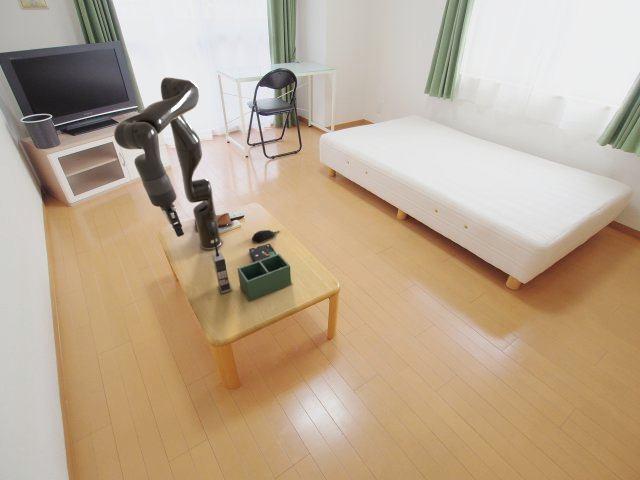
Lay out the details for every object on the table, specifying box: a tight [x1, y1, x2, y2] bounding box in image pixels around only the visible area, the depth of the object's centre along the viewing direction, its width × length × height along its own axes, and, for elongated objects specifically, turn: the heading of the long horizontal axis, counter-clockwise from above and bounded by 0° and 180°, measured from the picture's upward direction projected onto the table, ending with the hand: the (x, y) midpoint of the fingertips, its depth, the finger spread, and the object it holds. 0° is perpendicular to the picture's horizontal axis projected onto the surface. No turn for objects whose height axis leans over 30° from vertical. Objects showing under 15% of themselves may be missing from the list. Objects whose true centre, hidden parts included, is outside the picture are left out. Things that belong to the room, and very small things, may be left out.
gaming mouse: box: [251, 229, 279, 244], centre depth 166 cm, size 6×15×4 cm, turn 129°
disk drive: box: [248, 243, 277, 263], centre depth 152 cm, size 10×3×15 cm
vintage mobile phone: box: [211, 237, 232, 294], centre depth 130 cm, size 4×5×25 cm
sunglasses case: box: [194, 212, 233, 233], centre depth 175 cm, size 18×7×7 cm, turn 115°
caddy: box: [237, 253, 292, 302], centre depth 136 cm, size 10×18×10 cm, turn 123°
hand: (177, 229), depth 113 cm, fingers open, 8 cm apart
